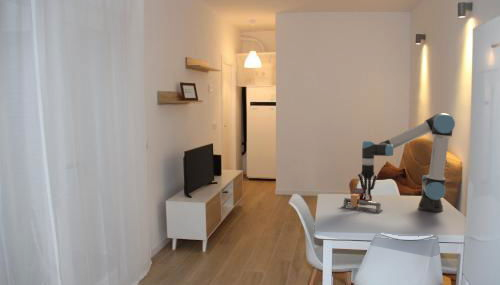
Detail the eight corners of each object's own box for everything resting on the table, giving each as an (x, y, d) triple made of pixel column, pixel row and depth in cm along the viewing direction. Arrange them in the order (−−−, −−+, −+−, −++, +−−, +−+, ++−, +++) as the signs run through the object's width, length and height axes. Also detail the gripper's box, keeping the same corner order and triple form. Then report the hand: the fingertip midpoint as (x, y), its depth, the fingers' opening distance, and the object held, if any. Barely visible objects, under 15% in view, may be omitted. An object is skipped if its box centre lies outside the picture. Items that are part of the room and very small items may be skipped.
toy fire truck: (370, 204, 304) (370, 190, 303) (352, 203, 310) (352, 188, 308) (372, 202, 310) (372, 188, 309) (354, 201, 316) (355, 186, 315)
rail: (382, 211, 288) (383, 201, 287) (378, 213, 281) (379, 204, 280) (345, 205, 302) (345, 196, 302) (341, 208, 296) (341, 198, 295)
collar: (359, 204, 295) (359, 194, 294) (356, 206, 291) (356, 195, 290) (353, 204, 298) (353, 193, 297) (350, 205, 293) (350, 195, 292)
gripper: (379, 164, 286) (378, 199, 288) (360, 162, 293) (359, 197, 296) (375, 165, 280) (375, 201, 282) (356, 164, 287) (355, 199, 290)
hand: (367, 199), depth 289 cm, fingers closed
